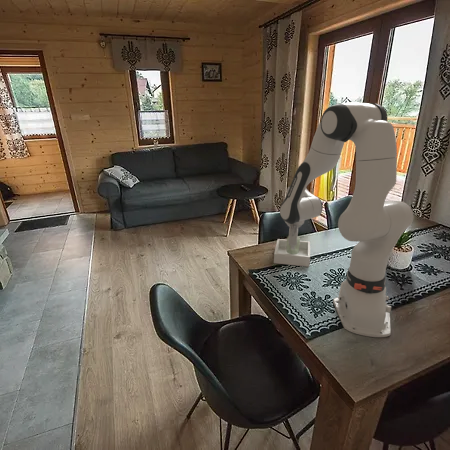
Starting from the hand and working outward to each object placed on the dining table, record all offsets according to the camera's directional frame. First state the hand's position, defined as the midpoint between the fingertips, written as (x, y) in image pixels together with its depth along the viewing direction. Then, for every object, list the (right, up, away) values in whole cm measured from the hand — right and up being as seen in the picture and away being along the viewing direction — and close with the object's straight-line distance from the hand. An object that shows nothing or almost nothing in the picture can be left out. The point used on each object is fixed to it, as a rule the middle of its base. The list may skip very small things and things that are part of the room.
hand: (293, 245), depth 137 cm
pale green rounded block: (0, -3, +1) cm, 3 cm away
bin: (0, -6, +2) cm, 6 cm away
